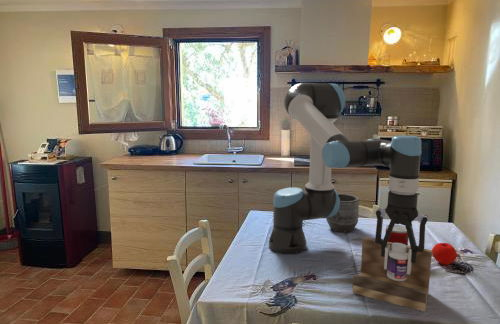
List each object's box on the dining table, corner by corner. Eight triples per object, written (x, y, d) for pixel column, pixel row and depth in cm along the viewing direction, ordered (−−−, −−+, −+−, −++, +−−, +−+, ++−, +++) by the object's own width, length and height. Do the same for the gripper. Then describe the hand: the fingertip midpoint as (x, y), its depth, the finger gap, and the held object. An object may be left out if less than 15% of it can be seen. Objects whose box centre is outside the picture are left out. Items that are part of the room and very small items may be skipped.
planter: (324, 222, 171) (325, 192, 168) (355, 224, 169) (356, 193, 166) (326, 233, 157) (328, 201, 154) (360, 235, 155) (361, 202, 152)
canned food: (408, 260, 130) (411, 232, 128) (386, 258, 131) (387, 230, 130) (404, 252, 137) (406, 225, 135) (382, 250, 139) (384, 223, 137)
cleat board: (352, 292, 108) (354, 249, 106) (361, 277, 118) (363, 237, 115) (424, 312, 98) (429, 264, 96) (428, 293, 108) (432, 250, 105)
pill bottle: (397, 283, 98) (400, 250, 97) (382, 275, 103) (384, 243, 102) (411, 279, 101) (413, 246, 99) (395, 271, 106) (398, 240, 104)
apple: (435, 256, 134) (437, 237, 132) (458, 262, 128) (460, 243, 127) (427, 262, 128) (429, 243, 127) (451, 270, 122) (453, 250, 121)
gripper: (365, 190, 99) (361, 267, 103) (439, 199, 90) (432, 283, 94) (371, 185, 106) (367, 257, 110) (441, 192, 97) (434, 272, 100)
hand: (397, 269), depth 102 cm, fingers closed on pill bottle, 5 cm apart
